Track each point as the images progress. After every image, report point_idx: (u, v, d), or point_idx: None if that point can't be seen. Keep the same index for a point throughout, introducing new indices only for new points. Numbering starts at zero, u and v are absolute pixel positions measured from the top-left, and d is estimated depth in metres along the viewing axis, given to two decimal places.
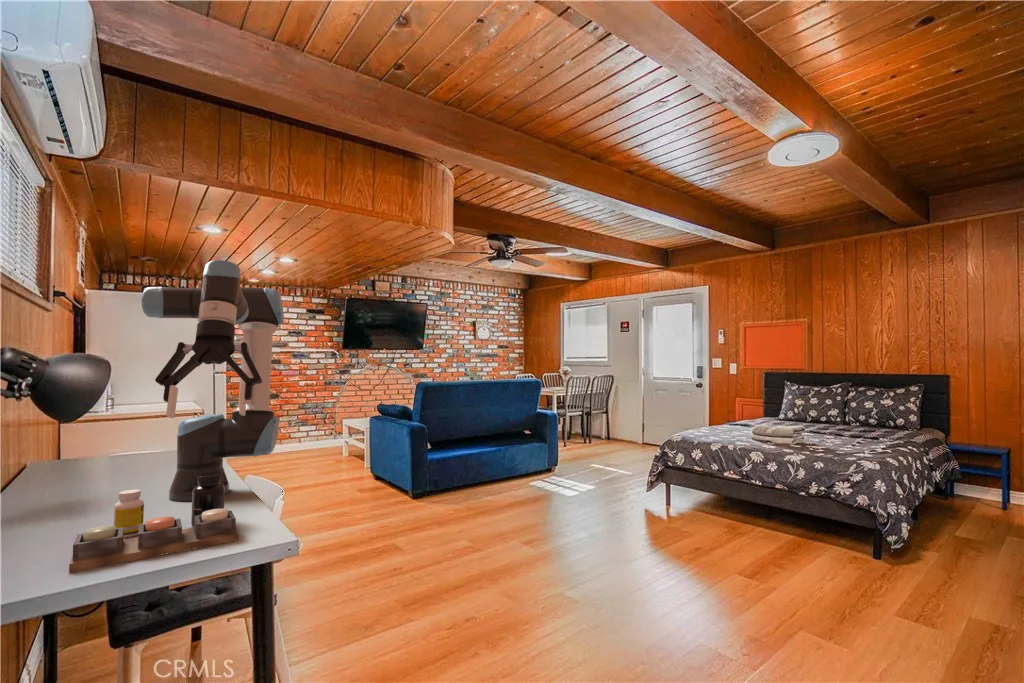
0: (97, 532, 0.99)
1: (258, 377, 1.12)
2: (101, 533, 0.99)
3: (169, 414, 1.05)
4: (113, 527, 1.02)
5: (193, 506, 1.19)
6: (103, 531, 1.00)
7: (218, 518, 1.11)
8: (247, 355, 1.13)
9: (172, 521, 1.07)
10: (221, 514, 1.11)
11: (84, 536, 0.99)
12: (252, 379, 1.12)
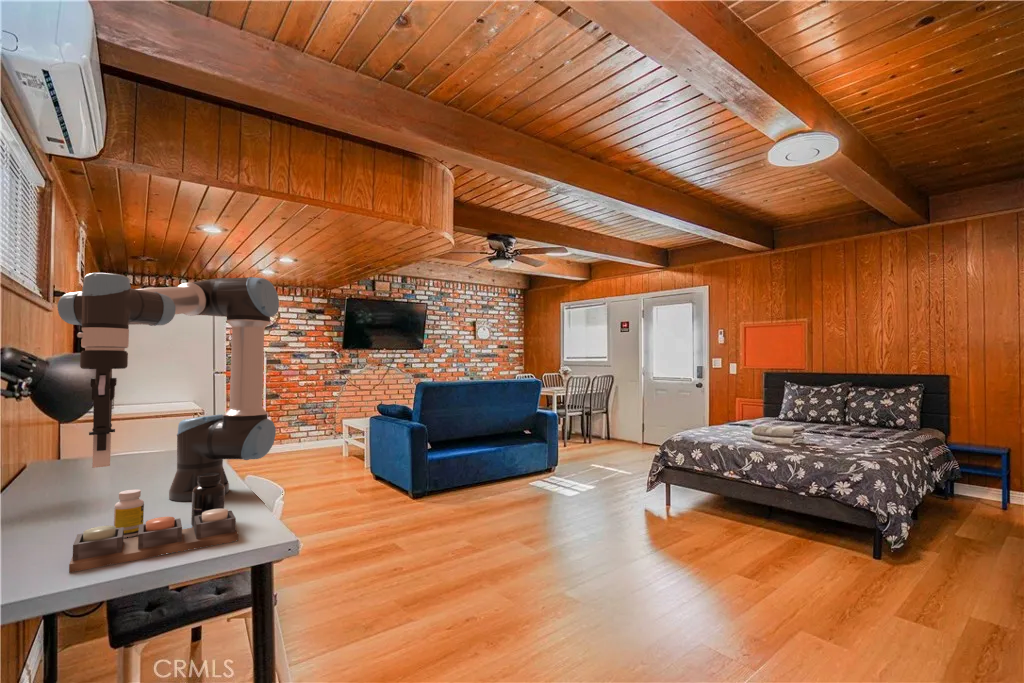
0: (97, 532, 0.99)
1: (93, 429, 0.98)
2: (101, 533, 0.99)
3: None
4: (113, 527, 1.02)
5: (193, 506, 1.19)
6: (103, 531, 1.00)
7: (218, 518, 1.11)
8: None
9: (172, 521, 1.07)
10: (221, 514, 1.11)
11: (84, 536, 0.99)
12: (97, 432, 0.99)
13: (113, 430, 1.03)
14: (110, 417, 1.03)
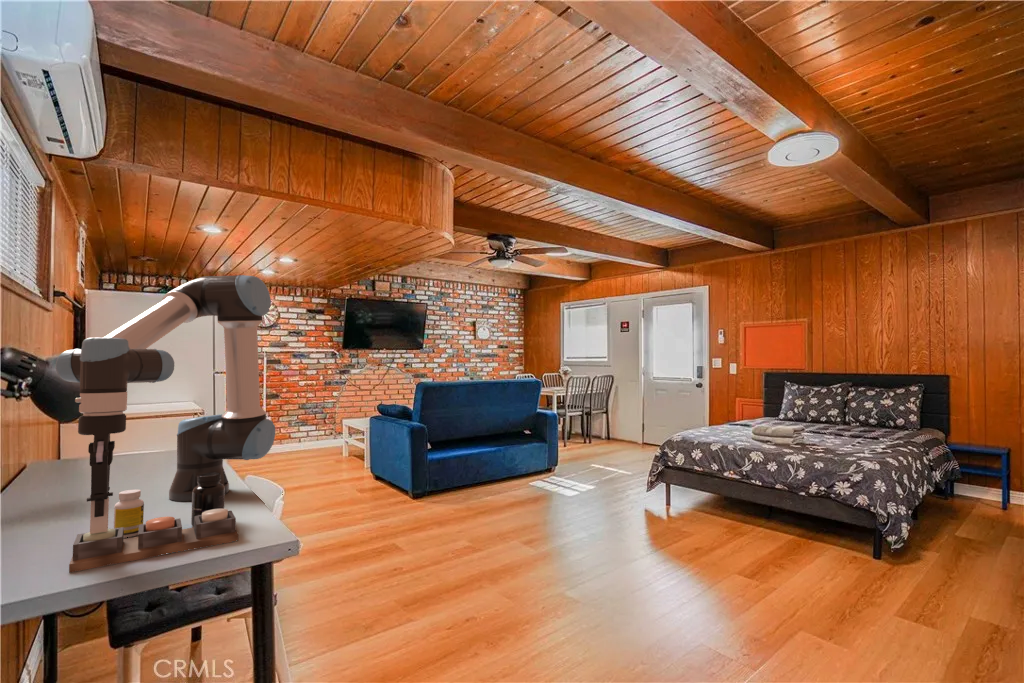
0: (97, 535, 0.99)
1: (90, 496, 0.98)
2: (101, 536, 0.99)
3: None
4: (113, 530, 1.02)
5: (193, 506, 1.19)
6: (103, 534, 1.00)
7: (218, 518, 1.11)
8: None
9: (172, 521, 1.07)
10: (221, 514, 1.11)
11: (84, 539, 0.99)
12: (94, 498, 0.99)
13: (111, 494, 1.03)
14: (108, 481, 1.02)
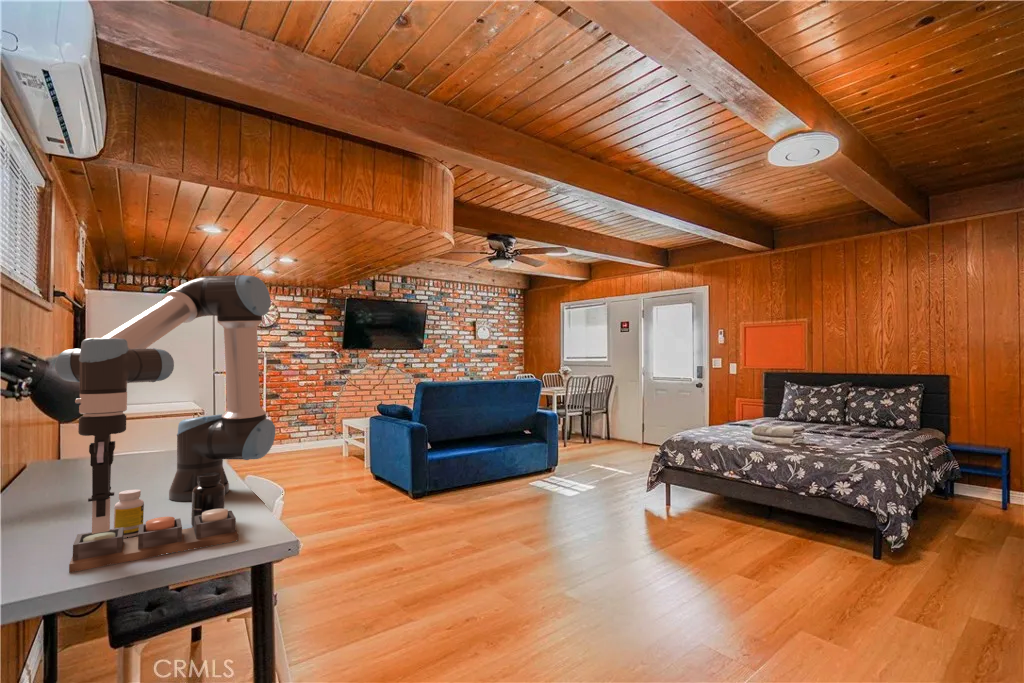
0: (97, 539, 0.99)
1: (92, 497, 0.98)
2: None
3: None
4: (113, 534, 1.02)
5: (193, 506, 1.19)
6: (103, 538, 1.00)
7: (218, 518, 1.11)
8: (92, 469, 0.97)
9: (172, 521, 1.07)
10: (221, 514, 1.11)
11: None
12: None
13: (112, 494, 1.03)
14: (109, 481, 1.03)
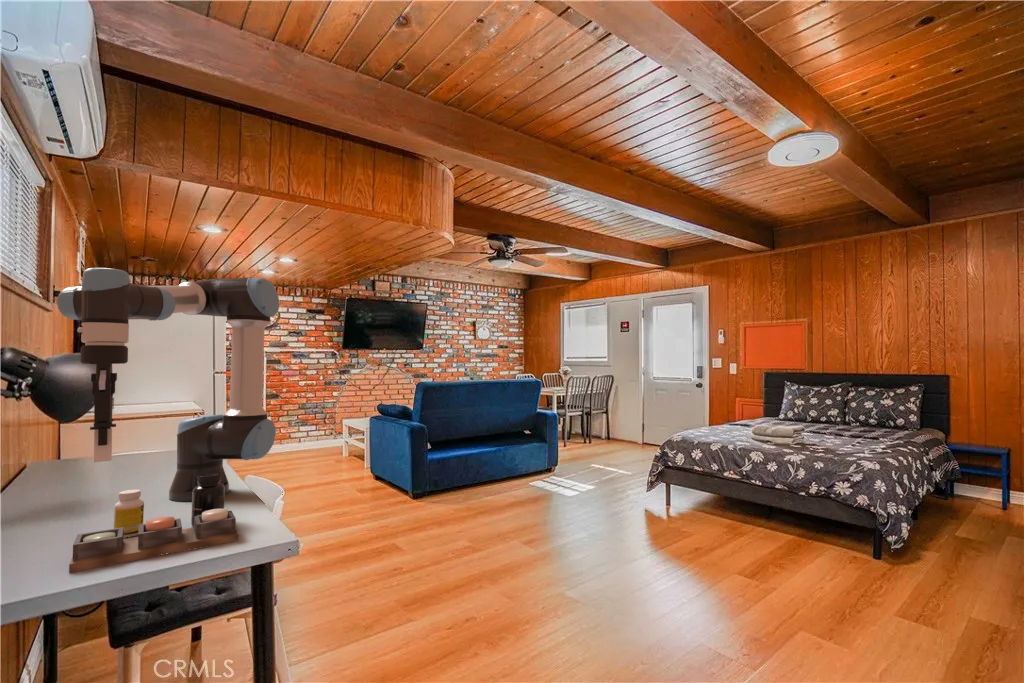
0: (97, 539, 0.99)
1: (94, 424, 0.98)
2: None
3: None
4: (113, 534, 1.02)
5: (193, 506, 1.19)
6: (103, 538, 1.00)
7: (218, 518, 1.11)
8: (94, 395, 0.97)
9: (172, 521, 1.07)
10: (221, 514, 1.11)
11: None
12: (98, 427, 1.00)
13: (114, 425, 1.04)
14: (111, 412, 1.03)
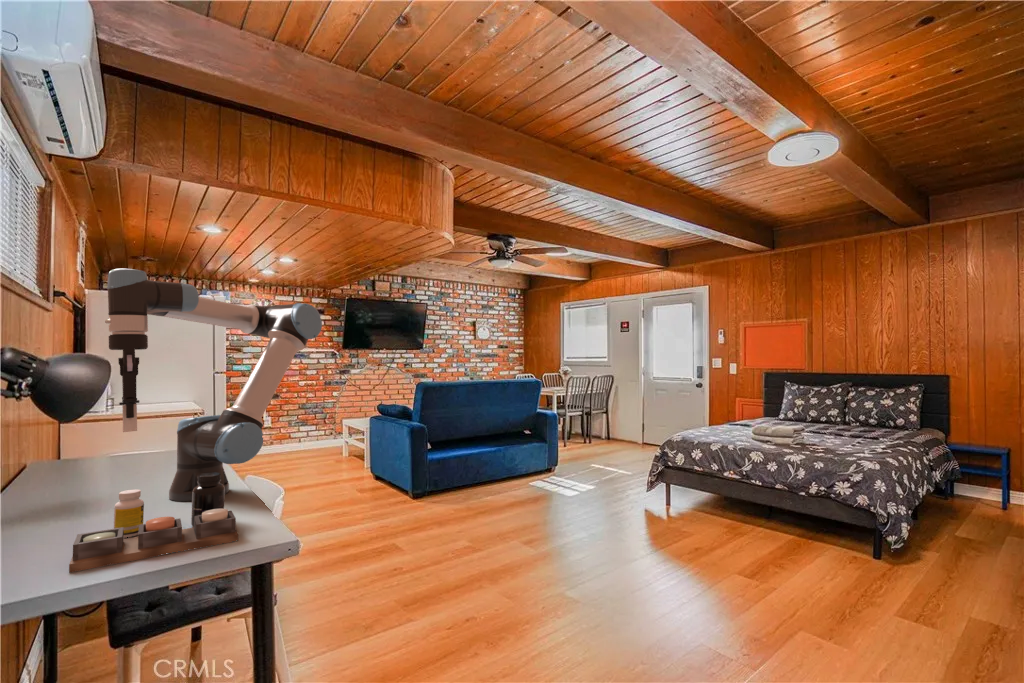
0: (97, 539, 0.99)
1: (123, 400, 1.18)
2: None
3: (123, 430, 1.20)
4: (113, 534, 1.02)
5: (193, 506, 1.19)
6: (103, 538, 1.00)
7: (218, 518, 1.11)
8: (123, 376, 1.17)
9: (172, 521, 1.07)
10: (221, 514, 1.11)
11: None
12: (126, 402, 1.19)
13: (138, 401, 1.23)
14: None
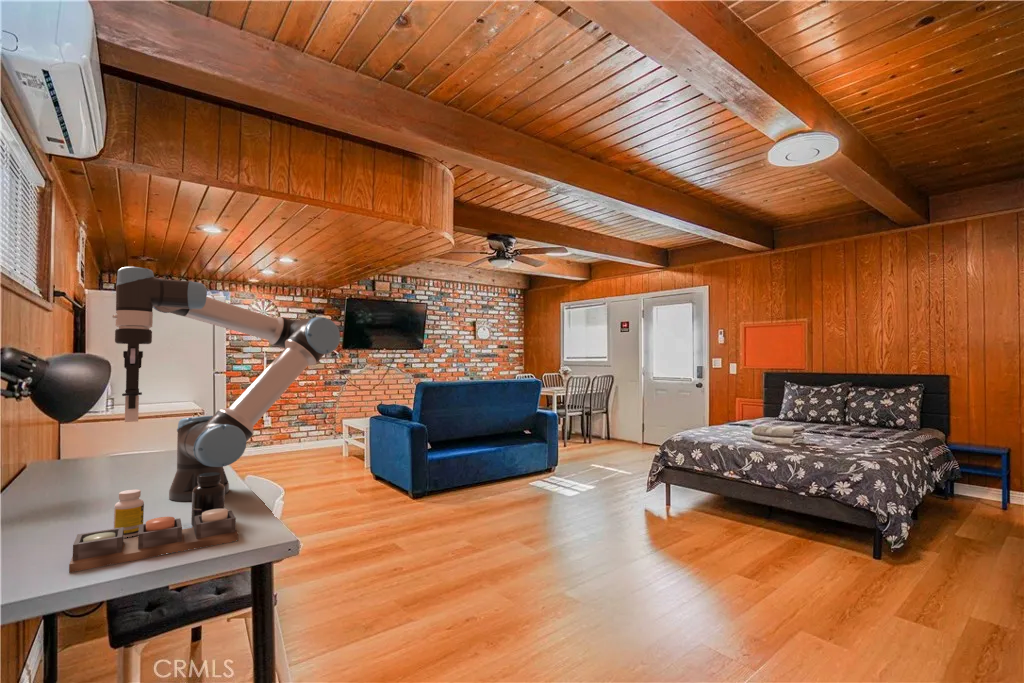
0: (97, 539, 0.99)
1: (125, 391, 1.24)
2: None
3: (125, 421, 1.26)
4: (113, 534, 1.02)
5: (193, 506, 1.19)
6: (103, 538, 1.00)
7: (218, 518, 1.11)
8: (126, 368, 1.23)
9: (172, 521, 1.07)
10: (221, 514, 1.11)
11: None
12: (128, 393, 1.25)
13: (140, 393, 1.29)
14: (138, 382, 1.28)
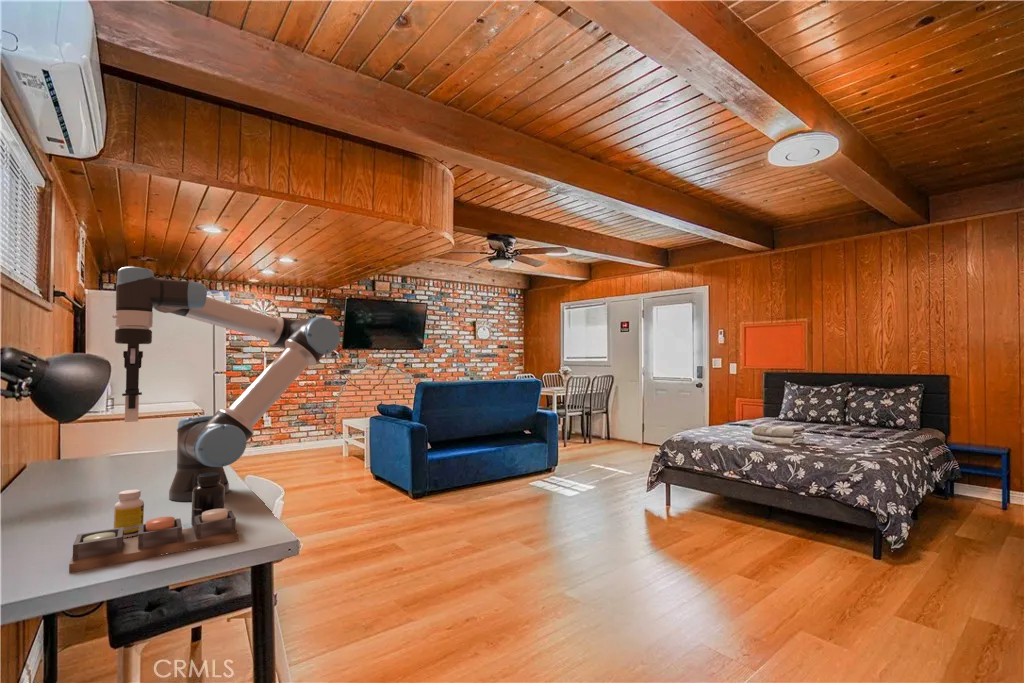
0: (97, 539, 0.99)
1: (125, 391, 1.24)
2: None
3: (125, 421, 1.26)
4: (113, 534, 1.02)
5: (193, 506, 1.19)
6: (103, 538, 1.00)
7: (218, 518, 1.11)
8: (126, 368, 1.23)
9: (172, 521, 1.07)
10: (221, 514, 1.11)
11: None
12: (128, 393, 1.25)
13: (140, 393, 1.29)
14: (138, 382, 1.28)
